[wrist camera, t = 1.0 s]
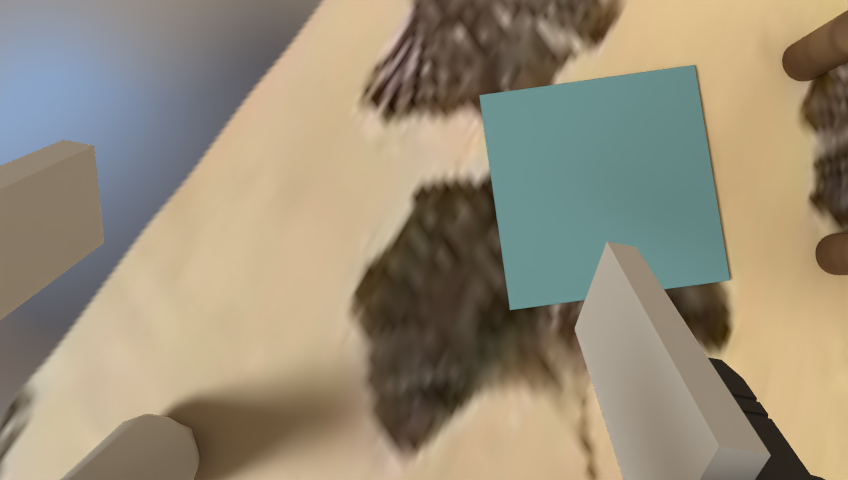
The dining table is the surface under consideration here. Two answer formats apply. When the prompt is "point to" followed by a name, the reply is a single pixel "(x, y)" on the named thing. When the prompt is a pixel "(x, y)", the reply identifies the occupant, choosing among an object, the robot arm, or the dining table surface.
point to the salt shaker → (142, 452)
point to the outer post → (818, 50)
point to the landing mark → (602, 182)
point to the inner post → (833, 254)
